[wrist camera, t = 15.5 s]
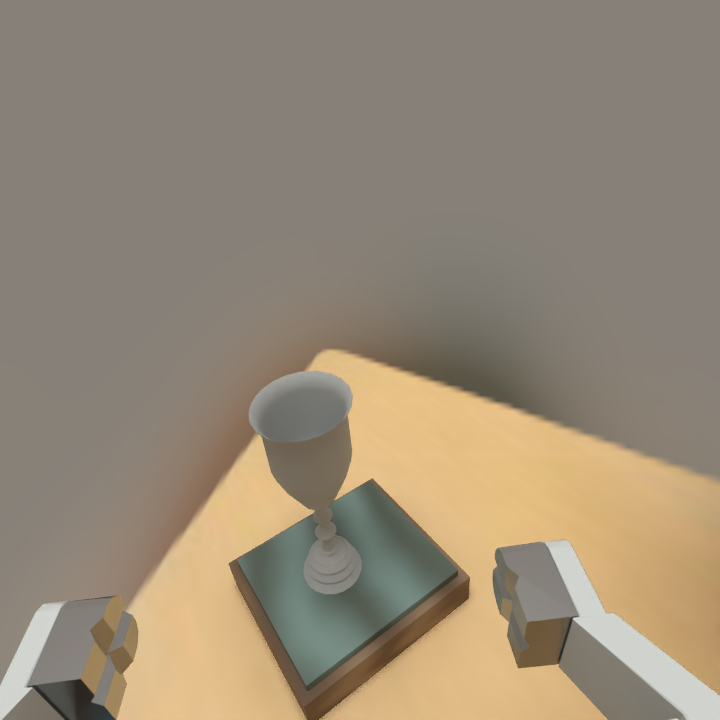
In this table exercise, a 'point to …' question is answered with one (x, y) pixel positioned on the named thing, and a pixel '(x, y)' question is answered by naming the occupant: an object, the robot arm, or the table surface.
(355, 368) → the table surface
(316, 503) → the chalice
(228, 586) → the table surface
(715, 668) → the table surface
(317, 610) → the plinth
